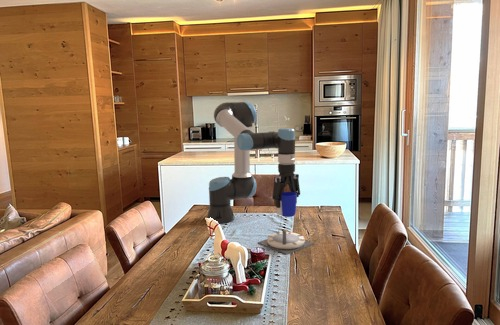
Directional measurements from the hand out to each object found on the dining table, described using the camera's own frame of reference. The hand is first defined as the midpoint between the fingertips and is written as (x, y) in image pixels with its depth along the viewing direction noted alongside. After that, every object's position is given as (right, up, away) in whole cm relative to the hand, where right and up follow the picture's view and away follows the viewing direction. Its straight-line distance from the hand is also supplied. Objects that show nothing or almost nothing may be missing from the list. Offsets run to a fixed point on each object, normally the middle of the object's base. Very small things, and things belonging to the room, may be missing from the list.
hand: (286, 212), depth 171 cm
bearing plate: (0, -14, +1) cm, 15 cm away
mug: (+1, -1, +1) cm, 1 cm away
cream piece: (0, -14, +1) cm, 15 cm away
